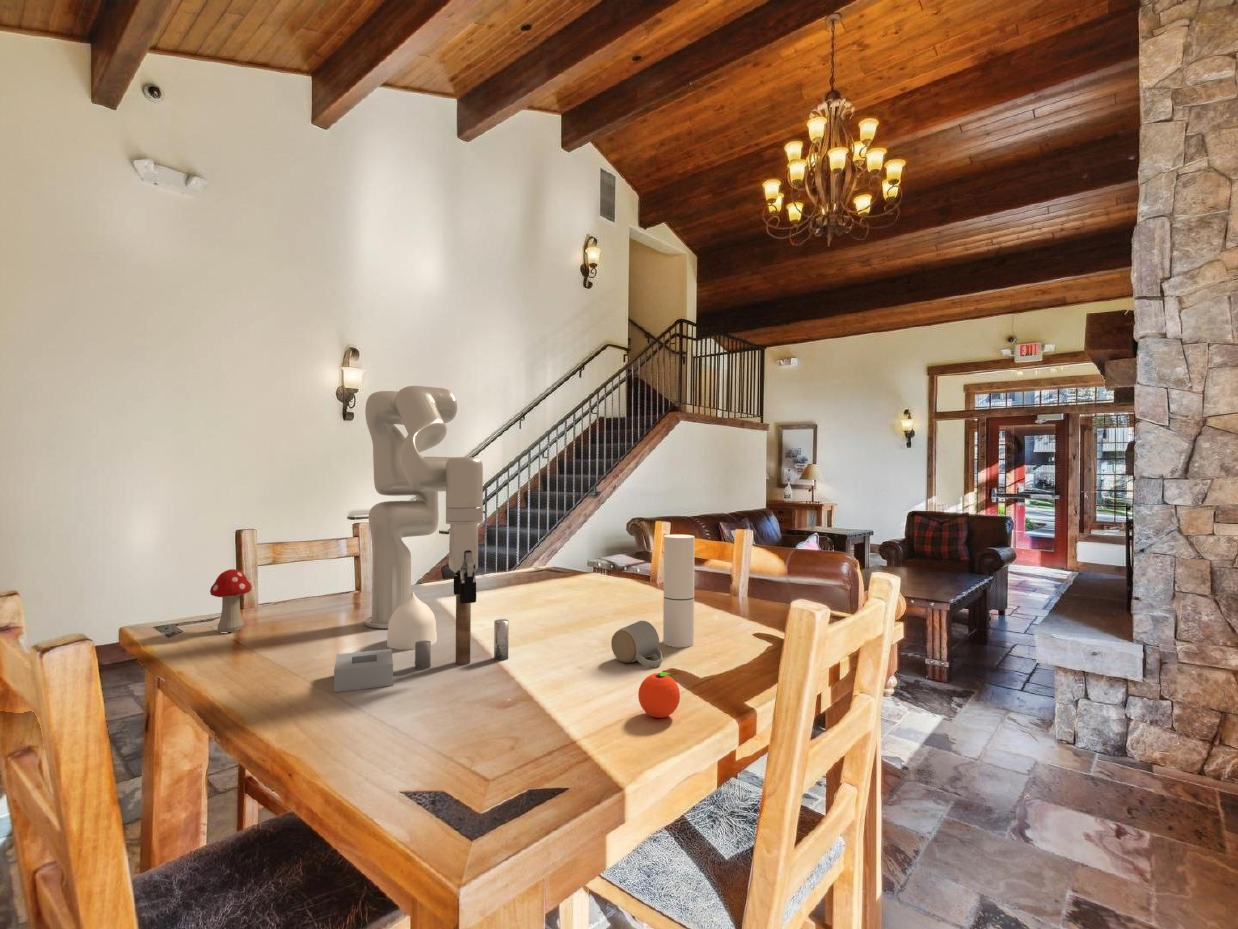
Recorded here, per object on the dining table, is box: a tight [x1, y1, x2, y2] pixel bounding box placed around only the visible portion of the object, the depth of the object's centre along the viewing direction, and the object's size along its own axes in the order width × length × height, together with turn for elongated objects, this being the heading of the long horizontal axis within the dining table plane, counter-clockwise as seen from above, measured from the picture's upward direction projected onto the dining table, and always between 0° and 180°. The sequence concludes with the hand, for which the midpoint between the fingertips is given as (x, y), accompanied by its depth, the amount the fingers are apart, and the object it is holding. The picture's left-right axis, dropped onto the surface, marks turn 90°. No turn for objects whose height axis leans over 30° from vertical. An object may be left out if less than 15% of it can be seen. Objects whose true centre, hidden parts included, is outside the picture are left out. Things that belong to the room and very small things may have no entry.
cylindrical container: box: [662, 534, 696, 648], centre depth 144 cm, size 7×7×25 cm
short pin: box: [414, 640, 432, 670], centre depth 125 cm, size 3×3×5 cm
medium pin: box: [493, 618, 510, 661], centre depth 131 cm, size 3×3×8 cm
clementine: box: [637, 671, 681, 719], centre depth 102 cm, size 8×7×7 cm
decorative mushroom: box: [209, 568, 253, 633], centre depth 151 cm, size 10×9×15 cm
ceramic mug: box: [610, 620, 664, 668], centre depth 130 cm, size 11×8×8 cm
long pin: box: [454, 594, 472, 666], centre depth 128 cm, size 3×3×14 cm
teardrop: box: [386, 590, 438, 650], centre depth 142 cm, size 11×11×12 cm
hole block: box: [333, 648, 394, 693], centre depth 117 cm, size 10×10×4 cm
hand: (464, 598), depth 128 cm, fingers open, 9 cm apart
